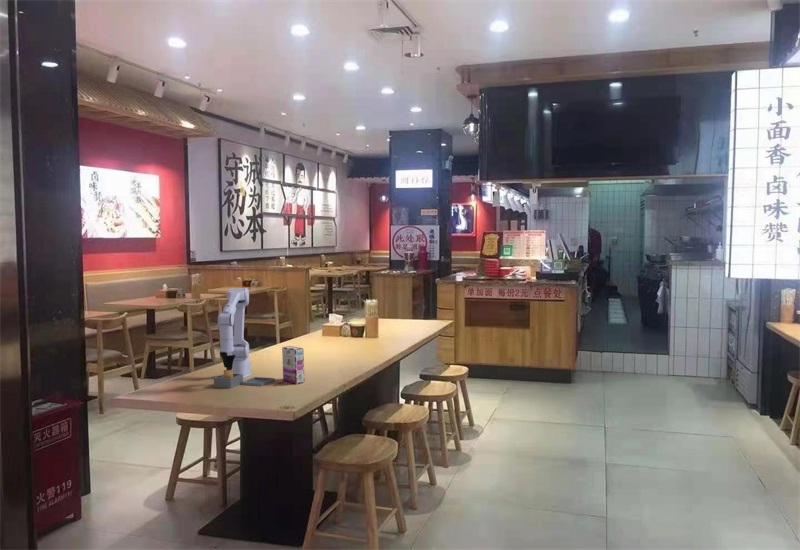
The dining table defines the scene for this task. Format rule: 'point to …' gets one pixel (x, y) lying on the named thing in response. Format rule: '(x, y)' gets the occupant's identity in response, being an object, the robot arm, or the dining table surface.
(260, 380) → the tray
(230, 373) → the dowel
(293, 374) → the candy bar box
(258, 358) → the dining table surface
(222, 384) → the grey square box
